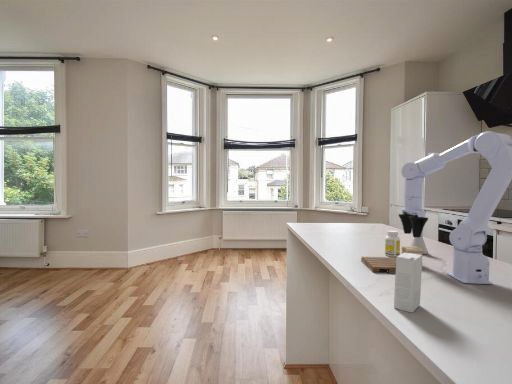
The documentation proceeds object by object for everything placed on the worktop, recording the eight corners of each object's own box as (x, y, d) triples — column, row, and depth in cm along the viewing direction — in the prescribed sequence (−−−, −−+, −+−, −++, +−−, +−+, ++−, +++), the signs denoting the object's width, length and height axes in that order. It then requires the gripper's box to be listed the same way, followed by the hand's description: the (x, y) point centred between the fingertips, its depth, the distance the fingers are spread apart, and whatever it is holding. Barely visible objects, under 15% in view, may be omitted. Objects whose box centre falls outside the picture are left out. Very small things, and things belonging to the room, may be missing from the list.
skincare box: (401, 300, 75) (402, 251, 75) (421, 305, 72) (423, 254, 72) (392, 308, 71) (394, 255, 70) (414, 314, 68) (416, 259, 67)
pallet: (411, 273, 98) (411, 268, 98) (373, 272, 99) (373, 266, 99) (394, 262, 112) (395, 257, 112) (361, 261, 113) (361, 256, 113)
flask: (404, 251, 131) (405, 228, 130) (416, 250, 134) (416, 227, 133) (419, 255, 124) (420, 230, 124) (431, 253, 127) (432, 229, 127)
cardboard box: (422, 266, 107) (422, 249, 107) (407, 266, 107) (407, 249, 107) (415, 262, 112) (416, 246, 112) (401, 262, 113) (401, 246, 112)
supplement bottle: (396, 254, 125) (397, 230, 125) (401, 257, 120) (402, 232, 120) (383, 253, 126) (383, 229, 126) (387, 256, 121) (388, 232, 120)
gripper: (393, 196, 117) (392, 231, 117) (410, 197, 102) (408, 238, 103) (413, 196, 116) (412, 232, 117) (432, 198, 102) (430, 239, 102)
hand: (412, 235), depth 110 cm, fingers open, 7 cm apart
